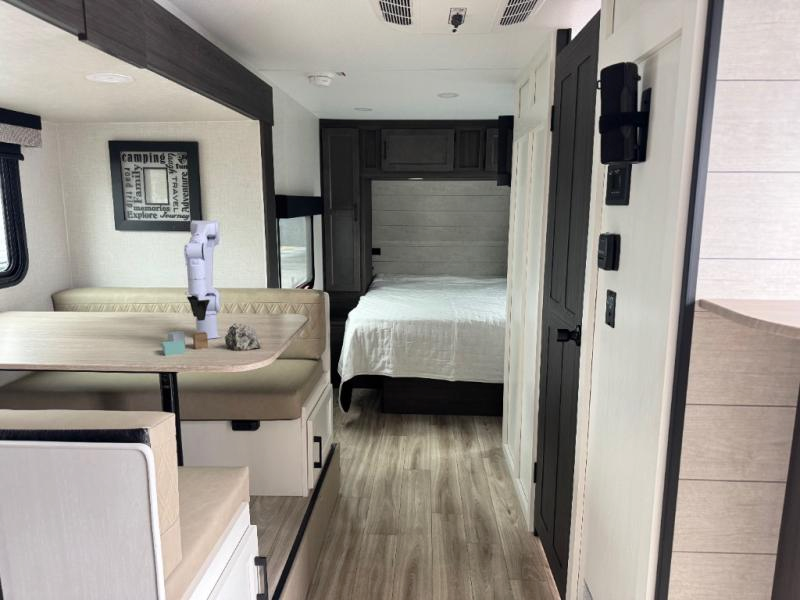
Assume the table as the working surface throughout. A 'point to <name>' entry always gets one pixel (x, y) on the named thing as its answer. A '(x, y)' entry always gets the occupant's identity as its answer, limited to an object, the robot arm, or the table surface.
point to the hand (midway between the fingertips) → (199, 318)
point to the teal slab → (173, 347)
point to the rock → (242, 337)
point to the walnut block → (200, 340)
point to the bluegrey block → (176, 336)
